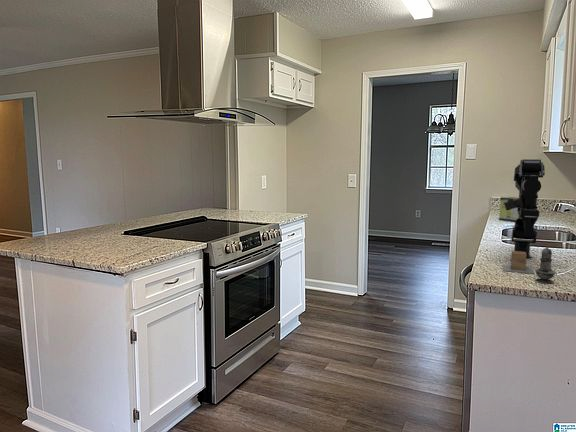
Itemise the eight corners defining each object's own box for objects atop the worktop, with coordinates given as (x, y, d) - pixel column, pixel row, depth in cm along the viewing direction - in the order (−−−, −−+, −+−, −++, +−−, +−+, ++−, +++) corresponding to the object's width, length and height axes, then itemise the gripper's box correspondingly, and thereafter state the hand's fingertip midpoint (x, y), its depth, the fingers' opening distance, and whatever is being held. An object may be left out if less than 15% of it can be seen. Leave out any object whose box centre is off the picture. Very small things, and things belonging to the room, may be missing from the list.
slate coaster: (502, 265, 169) (502, 264, 169) (531, 268, 165) (531, 267, 165) (503, 271, 160) (503, 270, 160) (534, 274, 156) (534, 273, 156)
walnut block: (510, 266, 165) (511, 250, 165) (524, 267, 164) (525, 251, 163) (511, 269, 161) (512, 253, 161) (525, 270, 160) (526, 254, 159)
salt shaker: (547, 279, 150) (550, 244, 149) (558, 283, 144) (561, 247, 143) (530, 279, 150) (533, 244, 148) (540, 284, 144) (543, 247, 142)
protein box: (508, 219, 303) (509, 196, 301) (530, 222, 289) (532, 198, 287) (498, 220, 298) (500, 197, 296) (520, 223, 284) (522, 198, 282)
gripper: (504, 190, 182) (502, 227, 184) (507, 193, 165) (504, 234, 167) (535, 191, 178) (532, 229, 180) (541, 194, 161) (537, 236, 163)
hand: (526, 232), depth 173 cm, fingers open, 9 cm apart
